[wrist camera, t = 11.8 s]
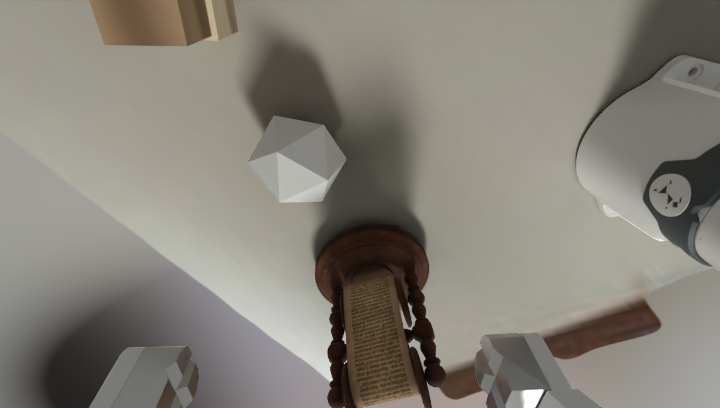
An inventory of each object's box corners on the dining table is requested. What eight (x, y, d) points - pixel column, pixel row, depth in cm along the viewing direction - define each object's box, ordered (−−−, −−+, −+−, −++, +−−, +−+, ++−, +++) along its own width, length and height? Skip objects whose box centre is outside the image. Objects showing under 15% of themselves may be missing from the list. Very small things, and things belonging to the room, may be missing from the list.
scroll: (411, 203, 42) (460, 350, 25) (434, 285, 50) (483, 438, 33) (298, 236, 44) (274, 394, 27) (337, 310, 52) (337, 468, 35)
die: (262, 97, 35) (217, 175, 31) (333, 89, 31) (292, 179, 27) (303, 148, 41) (270, 219, 37) (367, 148, 37) (337, 227, 33)
